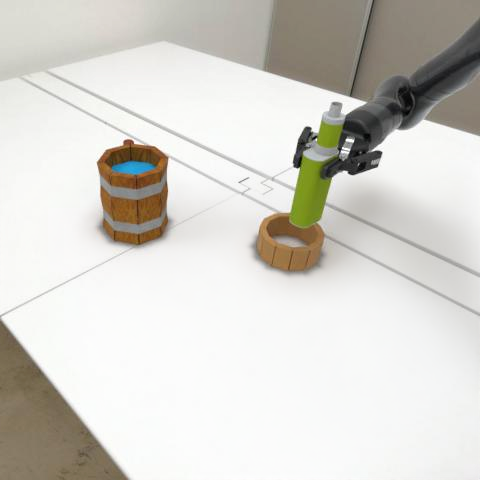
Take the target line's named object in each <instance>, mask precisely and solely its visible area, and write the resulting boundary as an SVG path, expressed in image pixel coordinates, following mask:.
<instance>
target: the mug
mask: <svg viewBox="0 0 480 480" xmlns="http://www.w3.org/2000/svg"><path fill="white" fill-rule="evenodd" d="M96 165H97V171H98V174H99V175H98V176H99V184H100V185H99V186H100V187H99V189H100V191H99V197H100V202H101V206H102V214H103V222H102V223H103V224H102V225H103V226H102V227H103V229H104V230H105V231H106V233H107V234H108V235H109V237H111V239H112V240H113V241H114V242H119V243H126V244H132V245H139V246H140V245H142V244H145V243H148V242H151V241H153V240H156V239H159V238H162V237H163V235H164V234H165V233H164V232H165V231H166V228H167V226H168V223H169V219H168V197H169V185H168V166H169V156H168V155H166V154H165V153H164V152H163V151H162V150H160V149H159V148H158V147H157V146H155V145H148V144H147V145H146V144H139V143H137V144H136V143H135V141H134V140H133V139H131V138H126V139H124V140H123V141H122V145H119V146H114V147H111V148H107V149H105V150H104V152H103V153H102V154H101V156H100V157H99V159H98V160H97V161H96Z"/></svg>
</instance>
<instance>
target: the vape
mask: <svg viewBox="0 0 480 480" xmlns="http://www.w3.org/2000/svg"><path fill="white" fill-rule="evenodd" d="M342 110H343V103H342V102H341V101H331V103H330V106H329V110H327V111H324V112H323V113H322V114H321V121H320V125H319V129H318V132H317V133H318V137H317V141H316V144H315V146H314V147H312V148H309V149H307V150H305V151H304V152H303V156H302V161H301V165H300V168H299V169H298V175H297V181H296V183H295V184H296V185H295V188H294V189H295V190H294V193H293V198H292V204H291V208H290V212H289V213H290V217H289V221H290V222H291V223H292V224H293V225H295V226H297V227H300V228H308V227H310V226H311V225H313V224H315V223H318V222H320V221H321V220H322V218H323V214H324V210H325V207H326V202H327V199H328V195H329V191H330V188H331V185H332V184H331V183H332V181H333V177H332V178H327V179H326V180H324V179H322V178H320V176H321V172H322V169H323V167H324V165H326V164H327V163H328V162H330V161H331V160H332V159H334V158H335V157H336V158H338V154H339V150H338V149H337V148H338V142H339V139H340V135H341V131H342V127H343V123H344V121H345V115H346V114H344V113H343V112H342Z"/></svg>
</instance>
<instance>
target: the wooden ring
mask: <svg viewBox="0 0 480 480" xmlns="http://www.w3.org/2000/svg"><path fill="white" fill-rule="evenodd" d="M289 217H290V212H276V213H273V214H271V215H268V216H266V217H264V218H263V220H262V221H261V223H260V225H259V227H258V234H257V240H256V250H257V254H258V255H259V258H260V259H261V260H263V261H264V262H265V263H266V264H268V265H269V266H271V267H273V268H276V269H280V270H283V271H287V272H297V271H306V270H308V269H310V268H312V267H313V266H316V265H317V264H318V261H319V258H320V255H321V252H322V248H323V245H324V240H325V237H326V233H325V232H324V230H323V228H322V227H321V225H320V224H319V223H318V222H316V223H315V224H313V225H311V226H310V227H308V228H300V227H297V226H295V225H293V224H292V223H291V222H290V221H289ZM278 236H280V237H281V236H288V237H292V238H296V239H298V240H300V241H302V242H304V243H305V244H306V246H291V245H288V244H284V243H280V242H279V241H277V240H275V239H274V237H278Z"/></svg>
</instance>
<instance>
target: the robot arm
mask: <svg viewBox="0 0 480 480" xmlns="http://www.w3.org/2000/svg"><path fill="white" fill-rule="evenodd" d="M478 76H480V16H479V17H477V19H476V20H474V22H473V23H471V25H470V26H469V27H468V28H467V29H466V30H465V31H463V32H462V33H461V34H460V35H459V36H458V37H457V38H456V39H455V40H454V41H452V42H451V43H449V45H447V46H446V47H444V48H443V49H442V50H441V51H439V52H438V53H436V54H435V55H434V56H432V57H431V58H429V59H428V60H427V61H425V62H424V63H422V64H421V65H420V66H418V67H417V68H416V69H415V70H414V71H413V72H411V74H410V76H407V75H405V74H402V73H396V74H393V75H390V76H388V77H386V78H385V79H383V81H381V82H380V83H379V84H378V85H377V87H376V88H375V89H374V91H373V92H372V94H371V95H370V97H369V99H368V101H367V102H366V103H364V104H363V105H360V106H358V107H356V108H354V109H353V110H351V111H350V112H348V113H347V114H344V115H345V121H344V123H343V127H342V131H341V135H340V139H339V142H338V148H337V149H338V150H339V154H338V158H336V157H335V158H334V159H332V160H331V161H330V162H328V163H327V164H326V165H324V167H323V169H322V172H321V176H320V178H322V179H324V180H326V179H327V178H332V179H333V178H334V177H335V176H337V174H342V173H343V172H347V174H348V175H350V176H356V175H359V174H363V173H365V172H368V171H370V170H374V169H377V168H378V167H379V165H380V163H381V159H382V157H383V153H384V152H383V151H382V150H379V149H376V148H377V147H378V146H380V145H381V144H382V143H383V142H384V141H385V140H386V139H387V138H388V136H390V135H391V134H392V133H395V131H396V130H397V131H409V130H411V129H413V128H415V127H416V126H418V125H419V124H420V123H422V121H423V120H424V119H425V118H426V117H427V116H428V115H429V114H430V112H431V111H432V110H433V109H434V108H435V107H436V105H438V104H439V103H440V102H441V101H443V100H444V99H447V98H448V97H450V96H452V95H454V94H455V93H457V92H459V91H460V90H462V89H464V88H465V87H466V86H468V85H470V84H471V83H472V82H473V81H474V80H476V79H477V78H478ZM318 133H319V132H315V131H313V128H312V127H311V126H309V125H307V126H304V127H303V129H302V132H301V133H300V135H299V137H298V139H297V143H296V148H295V152H294V154H293V159H292V167H293V168H294V169H297V170H299V169H300V165H301V161H302V156H303V152H304V151H305V150H307V149H309V148H312V147H314V146H315V144H316V141H317V137H318ZM374 149H376V150H374Z"/></svg>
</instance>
